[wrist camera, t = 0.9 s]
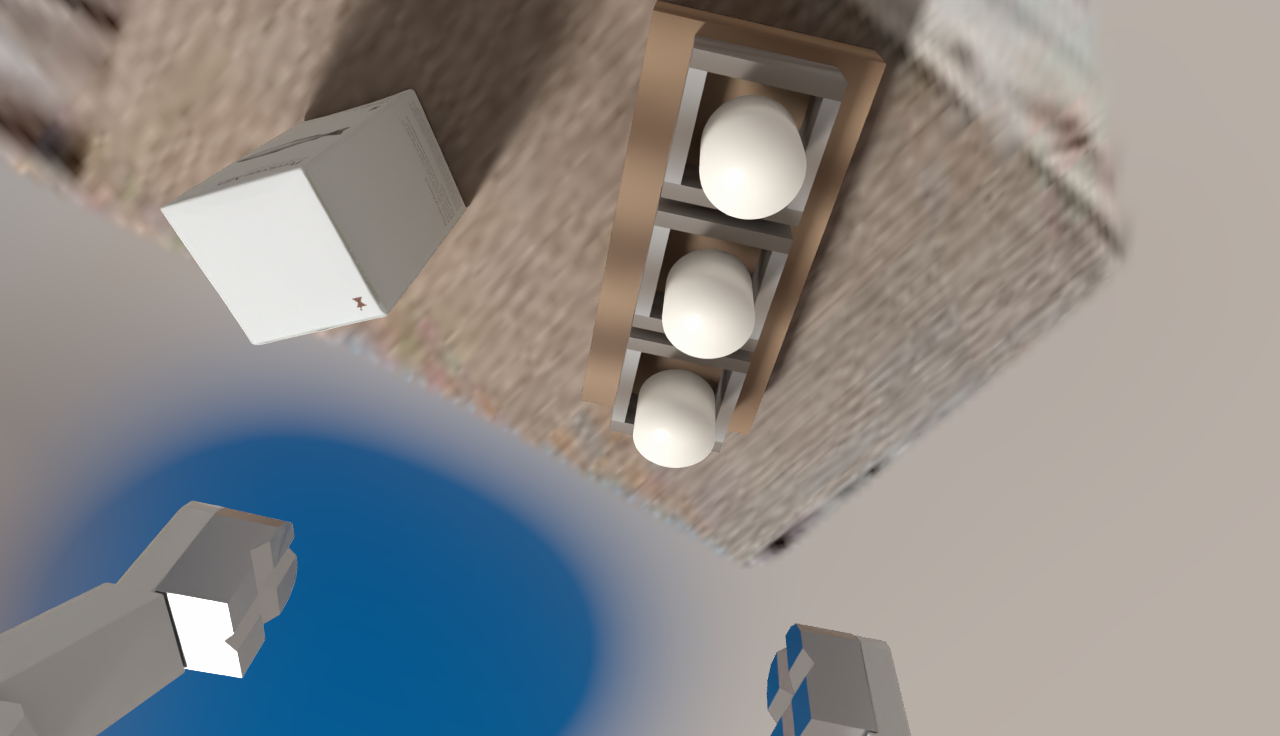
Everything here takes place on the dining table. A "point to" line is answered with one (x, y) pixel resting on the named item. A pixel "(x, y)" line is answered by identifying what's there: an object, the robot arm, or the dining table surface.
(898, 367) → the dining table surface
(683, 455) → the knob far
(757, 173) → the knob near
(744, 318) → the knob middle
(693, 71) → the knob mount
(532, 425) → the dining table surface
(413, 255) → the supplement box
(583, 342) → the dining table surface
